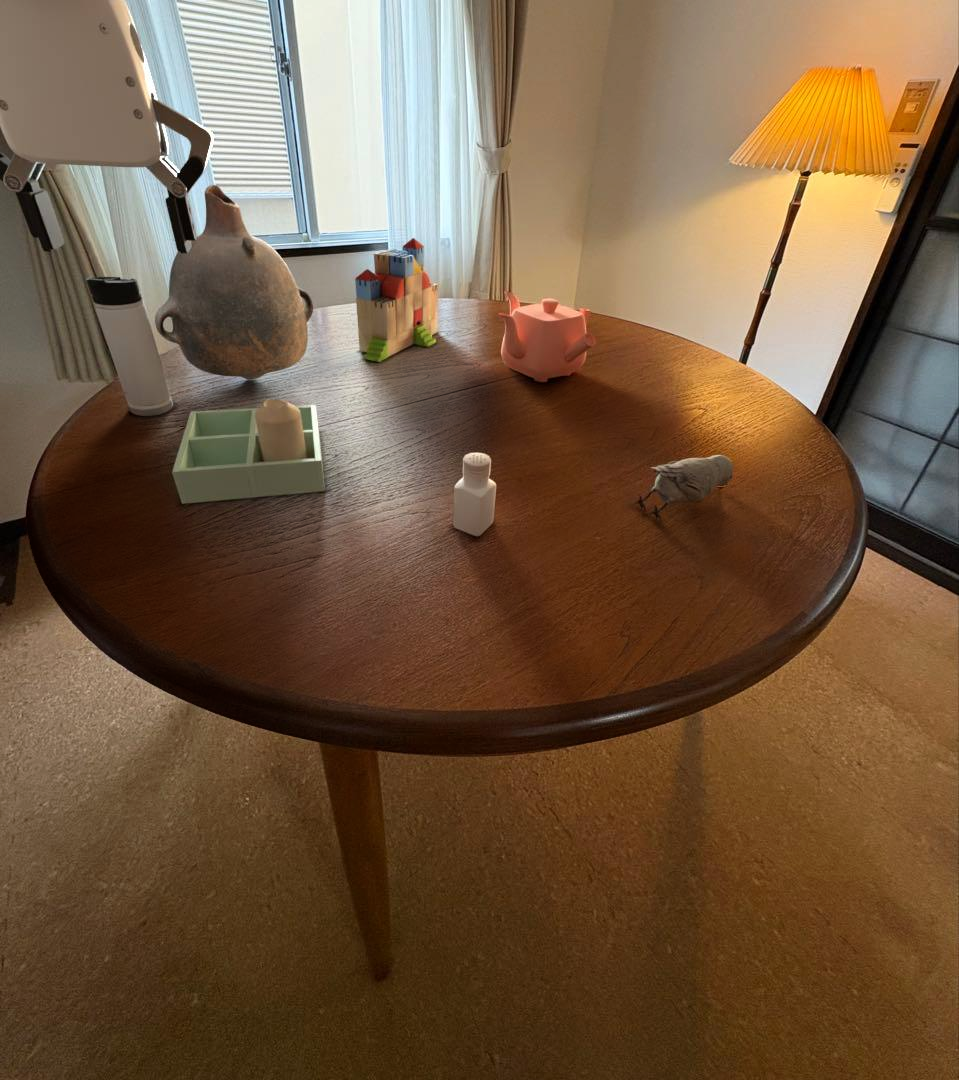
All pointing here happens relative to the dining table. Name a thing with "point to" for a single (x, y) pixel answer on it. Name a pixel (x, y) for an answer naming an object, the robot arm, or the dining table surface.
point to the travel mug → (131, 344)
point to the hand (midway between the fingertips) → (121, 249)
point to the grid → (242, 459)
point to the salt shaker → (474, 495)
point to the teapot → (545, 338)
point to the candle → (280, 431)
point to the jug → (234, 299)
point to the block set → (396, 303)
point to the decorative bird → (689, 480)
